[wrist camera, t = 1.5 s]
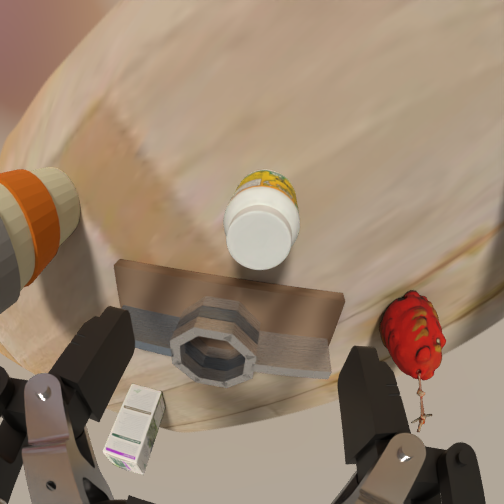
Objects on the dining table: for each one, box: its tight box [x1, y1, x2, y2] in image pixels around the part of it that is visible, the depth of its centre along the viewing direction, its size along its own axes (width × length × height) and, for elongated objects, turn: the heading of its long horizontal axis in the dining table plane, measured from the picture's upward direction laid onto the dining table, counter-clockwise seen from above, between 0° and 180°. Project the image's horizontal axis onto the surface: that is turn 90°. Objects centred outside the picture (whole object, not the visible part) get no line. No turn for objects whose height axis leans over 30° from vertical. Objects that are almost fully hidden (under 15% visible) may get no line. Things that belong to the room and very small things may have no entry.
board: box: [114, 259, 345, 350], centre depth 32 cm, size 25×12×2 cm, turn 83°
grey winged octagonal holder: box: [121, 296, 331, 388], centre depth 30 cm, size 24×8×5 cm, turn 83°
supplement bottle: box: [223, 169, 300, 270], centre depth 22 cm, size 5×5×10 cm
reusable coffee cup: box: [0, 167, 80, 314], centre depth 22 cm, size 13×12×15 cm
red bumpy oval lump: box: [379, 290, 446, 432], centre depth 24 cm, size 8×7×15 cm
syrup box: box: [103, 383, 166, 475], centre depth 37 cm, size 6×6×14 cm
